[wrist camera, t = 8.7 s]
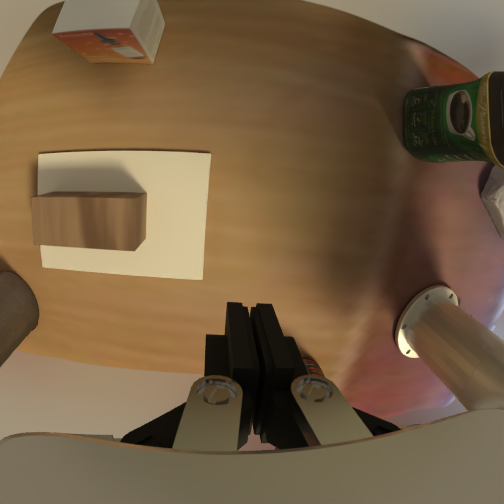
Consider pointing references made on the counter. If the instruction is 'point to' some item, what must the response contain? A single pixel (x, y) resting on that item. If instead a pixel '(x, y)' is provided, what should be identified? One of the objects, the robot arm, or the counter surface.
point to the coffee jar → (457, 121)
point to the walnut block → (90, 219)
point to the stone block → (495, 198)
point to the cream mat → (157, 217)
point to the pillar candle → (15, 313)
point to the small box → (111, 29)
